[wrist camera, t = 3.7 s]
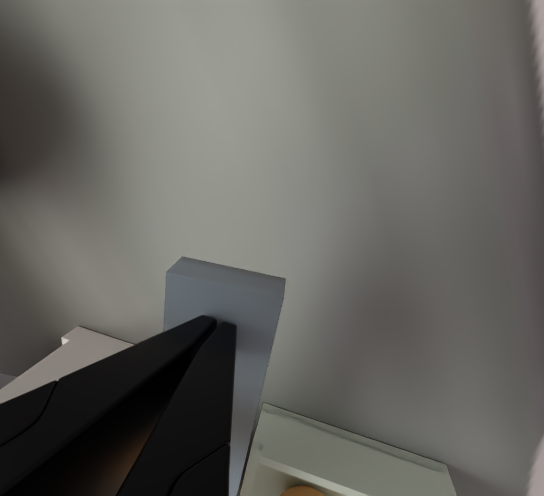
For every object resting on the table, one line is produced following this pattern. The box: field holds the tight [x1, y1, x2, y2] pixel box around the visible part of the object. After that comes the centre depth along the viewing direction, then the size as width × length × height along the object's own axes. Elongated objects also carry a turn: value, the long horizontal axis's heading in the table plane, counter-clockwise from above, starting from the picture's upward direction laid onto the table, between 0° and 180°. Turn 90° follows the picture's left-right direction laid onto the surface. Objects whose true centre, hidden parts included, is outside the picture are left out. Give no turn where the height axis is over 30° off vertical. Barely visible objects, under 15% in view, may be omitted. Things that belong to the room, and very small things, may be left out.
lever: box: [0, 257, 286, 496], centre depth 11 cm, size 18×15×5 cm
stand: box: [0, 326, 133, 404], centre depth 14 cm, size 12×4×6 cm, turn 169°
